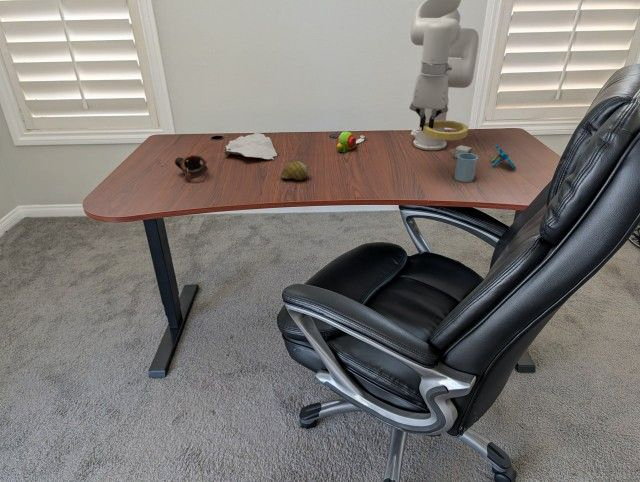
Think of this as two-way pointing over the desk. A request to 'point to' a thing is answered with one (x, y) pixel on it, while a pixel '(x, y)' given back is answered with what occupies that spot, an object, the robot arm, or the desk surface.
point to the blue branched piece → (502, 157)
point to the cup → (466, 167)
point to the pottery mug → (192, 166)
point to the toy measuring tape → (348, 141)
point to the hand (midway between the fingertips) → (426, 129)
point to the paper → (252, 146)
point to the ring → (446, 135)
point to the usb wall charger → (461, 150)
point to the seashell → (295, 171)
